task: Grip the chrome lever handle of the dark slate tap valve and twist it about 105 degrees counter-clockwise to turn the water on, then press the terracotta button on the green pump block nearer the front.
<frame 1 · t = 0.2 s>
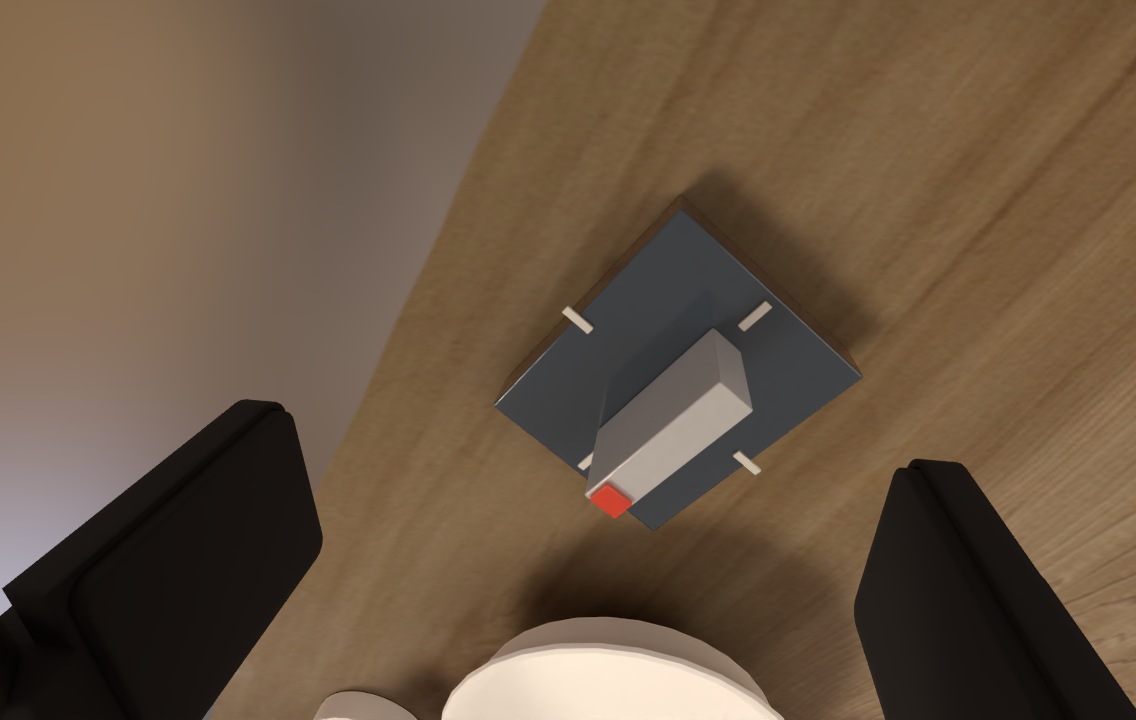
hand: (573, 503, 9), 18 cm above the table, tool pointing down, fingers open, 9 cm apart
tap handle: (664, 423, 23), point 5 cm above the table, hinge at 0.0°
bowl: (626, 663, 38), on the table
tap valve: (666, 365, 28), on the table
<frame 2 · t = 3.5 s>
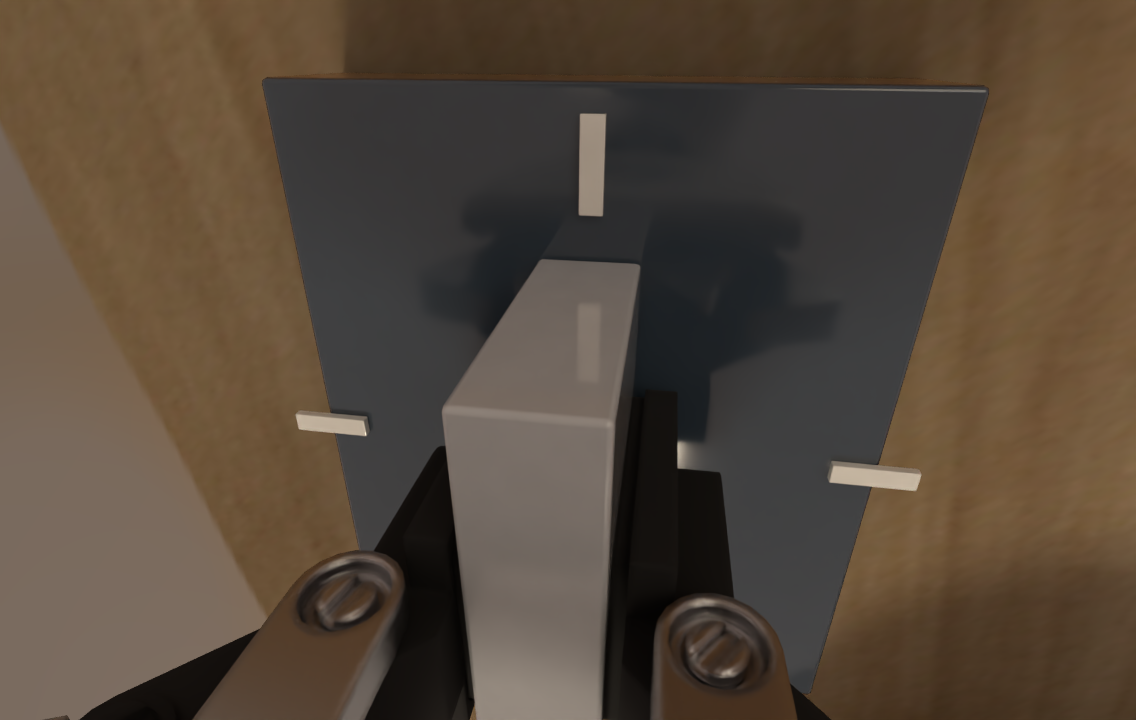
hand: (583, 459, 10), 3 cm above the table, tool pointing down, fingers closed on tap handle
tap handle: (564, 540, 9), point 5 cm above the table, hinge at 0.3°, touching gripper
tap valve: (601, 379, 13), on the table
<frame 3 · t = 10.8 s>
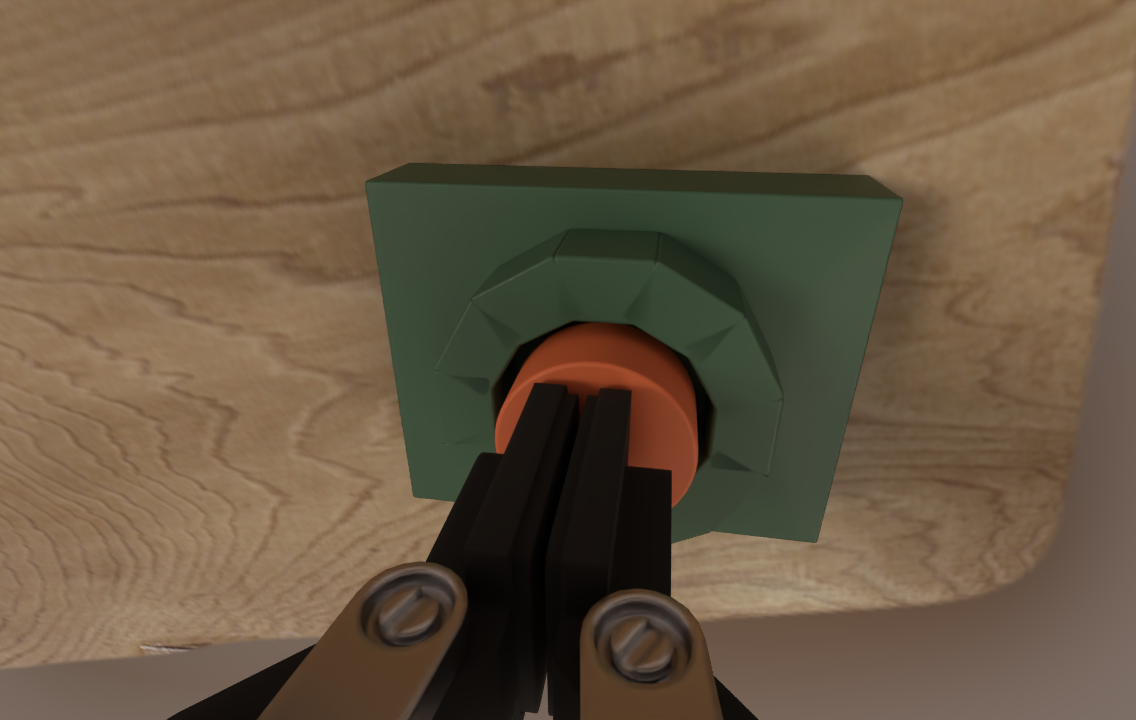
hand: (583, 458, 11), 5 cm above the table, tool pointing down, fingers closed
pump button: (599, 426, 11), point 4 cm above the table, slide at -0.3 cm, touching gripper
pump block: (619, 335, 15), on the table
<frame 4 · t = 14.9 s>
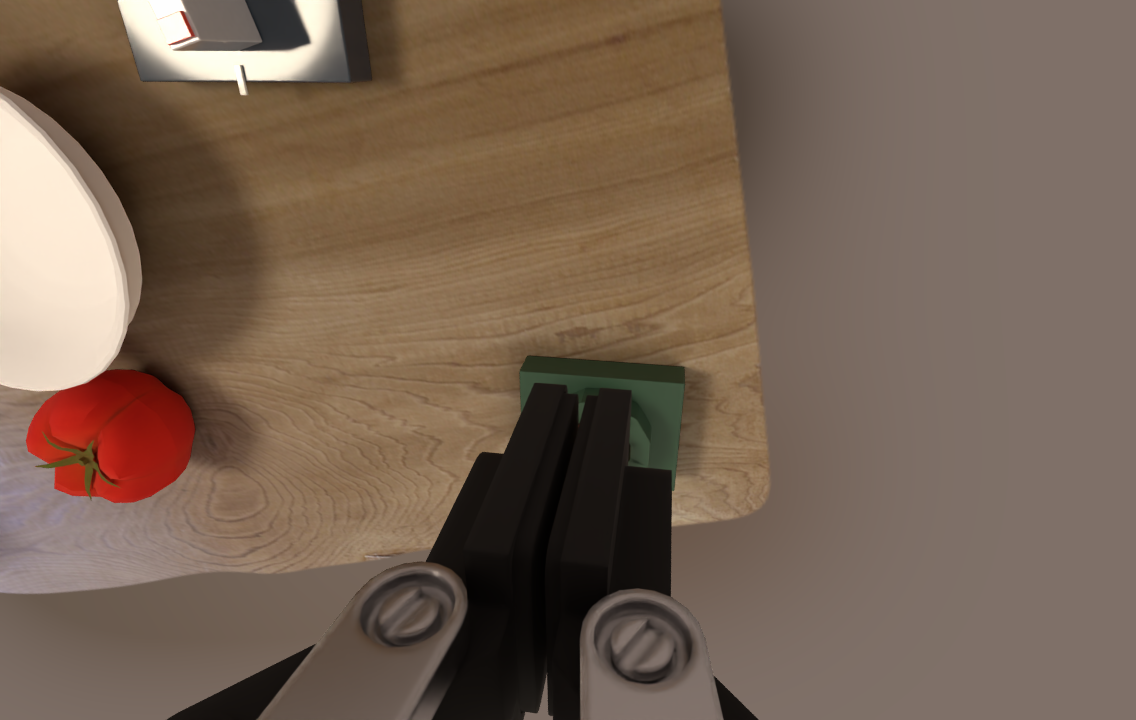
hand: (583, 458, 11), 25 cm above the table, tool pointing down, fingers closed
pump block: (602, 414, 40), on the table
bowl: (64, 212, 39), on the table
tomato: (162, 408, 46), on the table
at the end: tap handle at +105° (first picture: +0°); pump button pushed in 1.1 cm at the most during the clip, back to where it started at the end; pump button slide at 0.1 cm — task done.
